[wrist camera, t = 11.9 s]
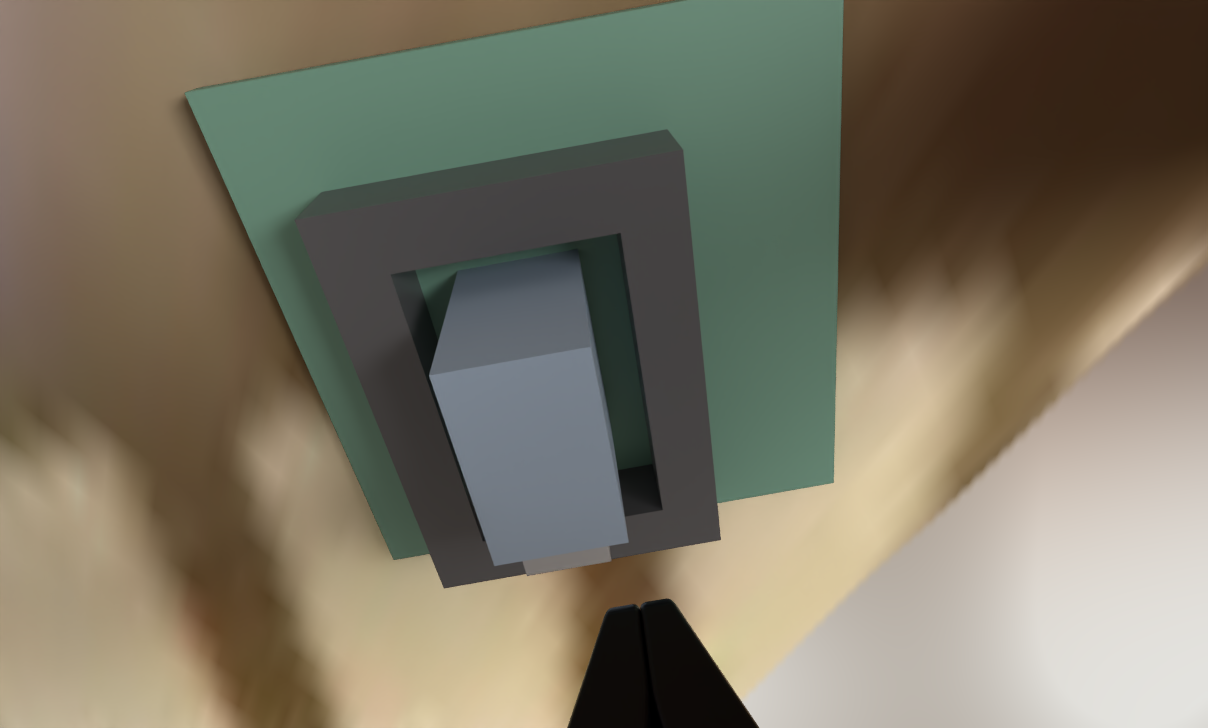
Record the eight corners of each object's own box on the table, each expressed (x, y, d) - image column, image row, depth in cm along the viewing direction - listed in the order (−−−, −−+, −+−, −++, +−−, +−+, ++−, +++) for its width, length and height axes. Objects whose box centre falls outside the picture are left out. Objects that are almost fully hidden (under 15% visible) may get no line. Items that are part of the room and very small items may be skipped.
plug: (577, 248, 17) (590, 346, 12) (614, 441, 20) (634, 574, 15) (457, 270, 17) (428, 375, 12) (512, 459, 20) (505, 596, 15)
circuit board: (833, -29, 15) (843, -29, 14) (826, 470, 22) (833, 482, 21) (197, 88, 15) (184, 92, 14) (397, 546, 22) (393, 559, 21)
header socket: (667, 128, 15) (682, 149, 14) (706, 493, 21) (720, 539, 19) (321, 191, 16) (294, 220, 14) (452, 537, 21) (444, 588, 19)
